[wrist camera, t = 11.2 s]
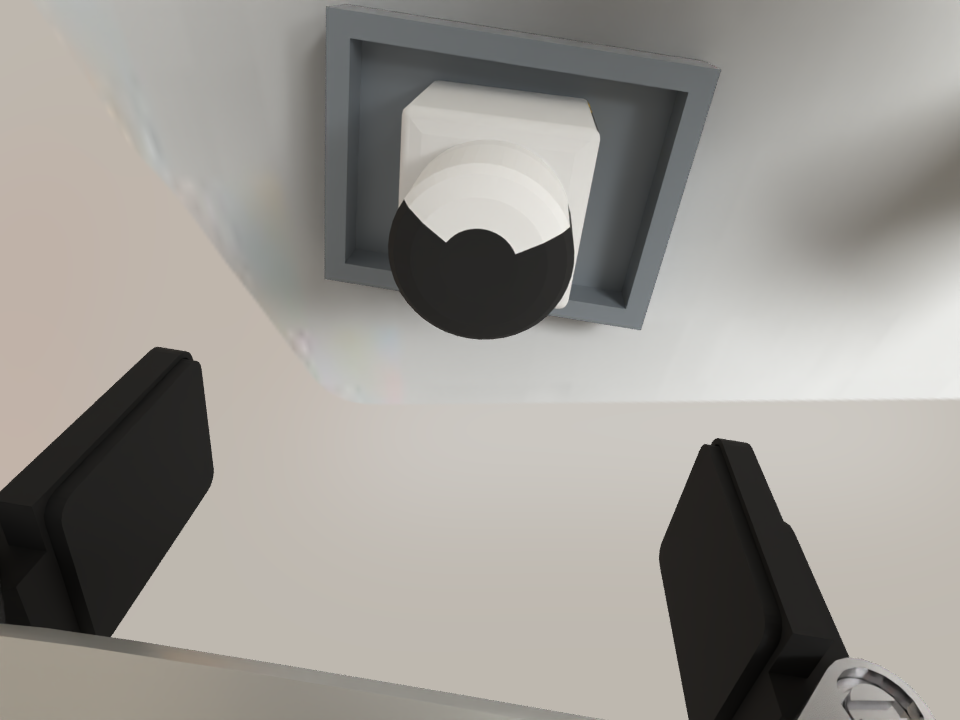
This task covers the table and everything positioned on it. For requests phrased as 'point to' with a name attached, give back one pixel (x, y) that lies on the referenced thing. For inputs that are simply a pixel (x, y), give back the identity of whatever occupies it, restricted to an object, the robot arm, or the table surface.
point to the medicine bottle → (490, 205)
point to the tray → (525, 67)
